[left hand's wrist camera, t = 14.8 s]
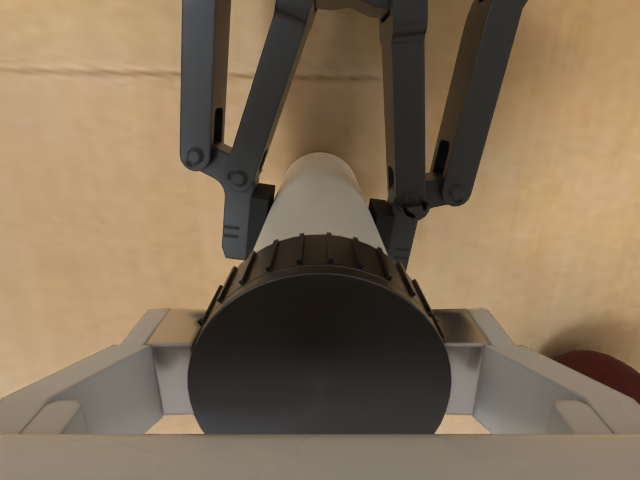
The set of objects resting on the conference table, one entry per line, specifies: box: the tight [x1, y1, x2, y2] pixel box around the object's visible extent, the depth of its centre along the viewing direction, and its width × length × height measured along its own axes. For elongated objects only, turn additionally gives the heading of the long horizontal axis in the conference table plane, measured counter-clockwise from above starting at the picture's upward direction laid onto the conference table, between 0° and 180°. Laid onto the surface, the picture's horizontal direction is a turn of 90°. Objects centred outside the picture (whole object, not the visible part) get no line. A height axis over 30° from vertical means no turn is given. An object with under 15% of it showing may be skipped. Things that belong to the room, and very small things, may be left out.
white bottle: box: [253, 152, 388, 256], centre depth 17 cm, size 5×5×17 cm
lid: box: [187, 232, 452, 434], centre depth 9 cm, size 5×5×2 cm
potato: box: [554, 350, 640, 405], centre depth 26 cm, size 7×8×7 cm
